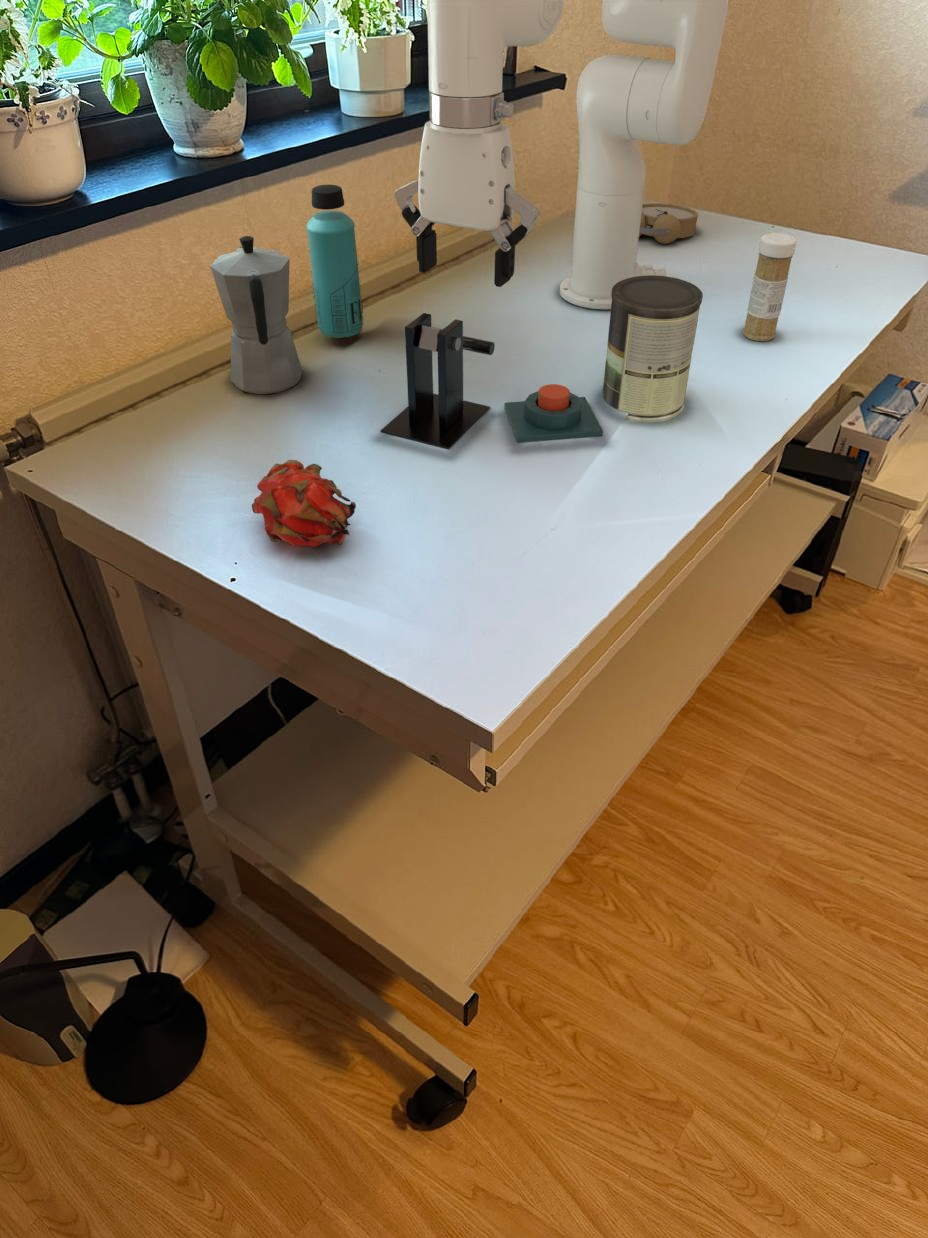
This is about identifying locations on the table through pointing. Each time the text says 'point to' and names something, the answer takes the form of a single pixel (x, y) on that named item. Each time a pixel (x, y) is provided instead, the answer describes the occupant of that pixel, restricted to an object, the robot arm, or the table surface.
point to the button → (553, 397)
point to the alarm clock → (667, 222)
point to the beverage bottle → (334, 265)
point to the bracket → (428, 412)
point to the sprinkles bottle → (769, 286)
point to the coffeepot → (258, 318)
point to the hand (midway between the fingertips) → (464, 275)
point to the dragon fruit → (302, 506)
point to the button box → (552, 420)
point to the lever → (471, 344)
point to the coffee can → (650, 346)
